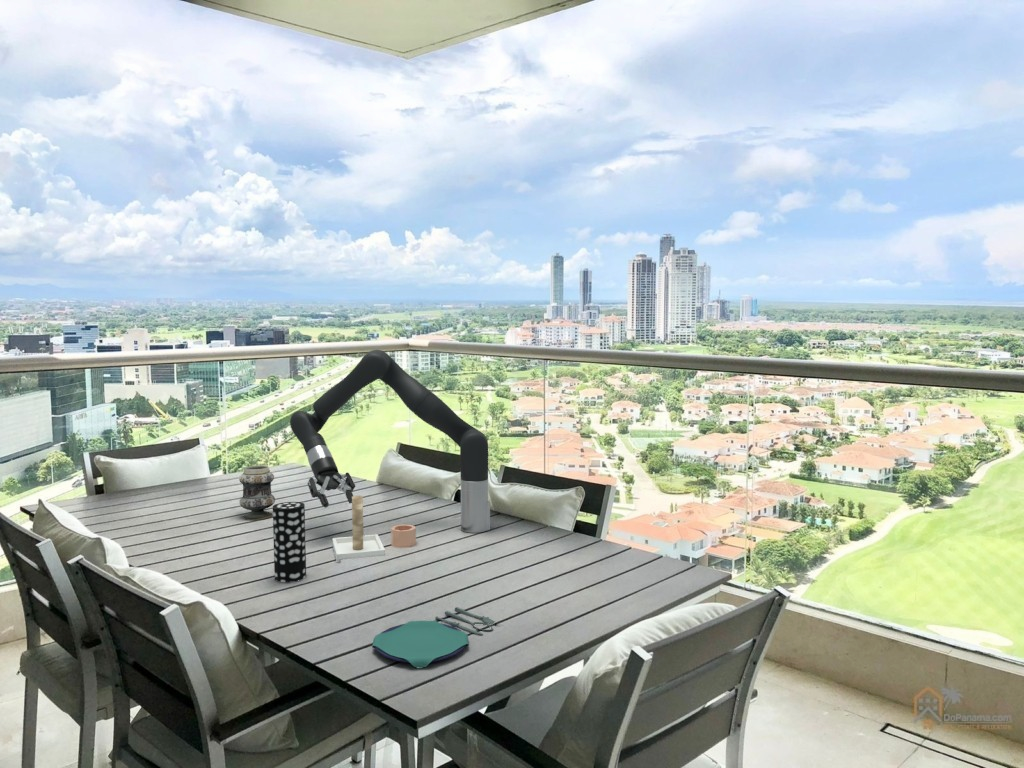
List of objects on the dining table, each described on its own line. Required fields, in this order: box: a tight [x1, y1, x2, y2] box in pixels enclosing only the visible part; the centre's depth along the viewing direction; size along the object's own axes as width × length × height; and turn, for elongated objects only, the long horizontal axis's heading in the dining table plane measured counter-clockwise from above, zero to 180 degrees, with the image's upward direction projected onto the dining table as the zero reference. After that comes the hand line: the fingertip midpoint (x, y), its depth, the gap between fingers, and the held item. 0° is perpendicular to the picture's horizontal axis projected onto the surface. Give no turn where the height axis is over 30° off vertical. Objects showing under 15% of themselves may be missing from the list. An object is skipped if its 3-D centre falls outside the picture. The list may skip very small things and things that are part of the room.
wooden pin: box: [351, 495, 364, 550], centre depth 224 cm, size 3×3×16 cm
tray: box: [331, 534, 386, 564], centre depth 224 cm, size 14×17×2 cm
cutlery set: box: [371, 606, 496, 668], centre depth 163 cm, size 20×30×2 cm, turn 140°
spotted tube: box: [272, 501, 307, 583], centre depth 202 cm, size 8×8×20 cm
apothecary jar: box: [238, 465, 276, 521], centre depth 265 cm, size 12×12×18 cm
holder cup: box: [390, 524, 417, 549], centre depth 229 cm, size 8×8×6 cm
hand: (339, 504), depth 232 cm, fingers open, 8 cm apart
